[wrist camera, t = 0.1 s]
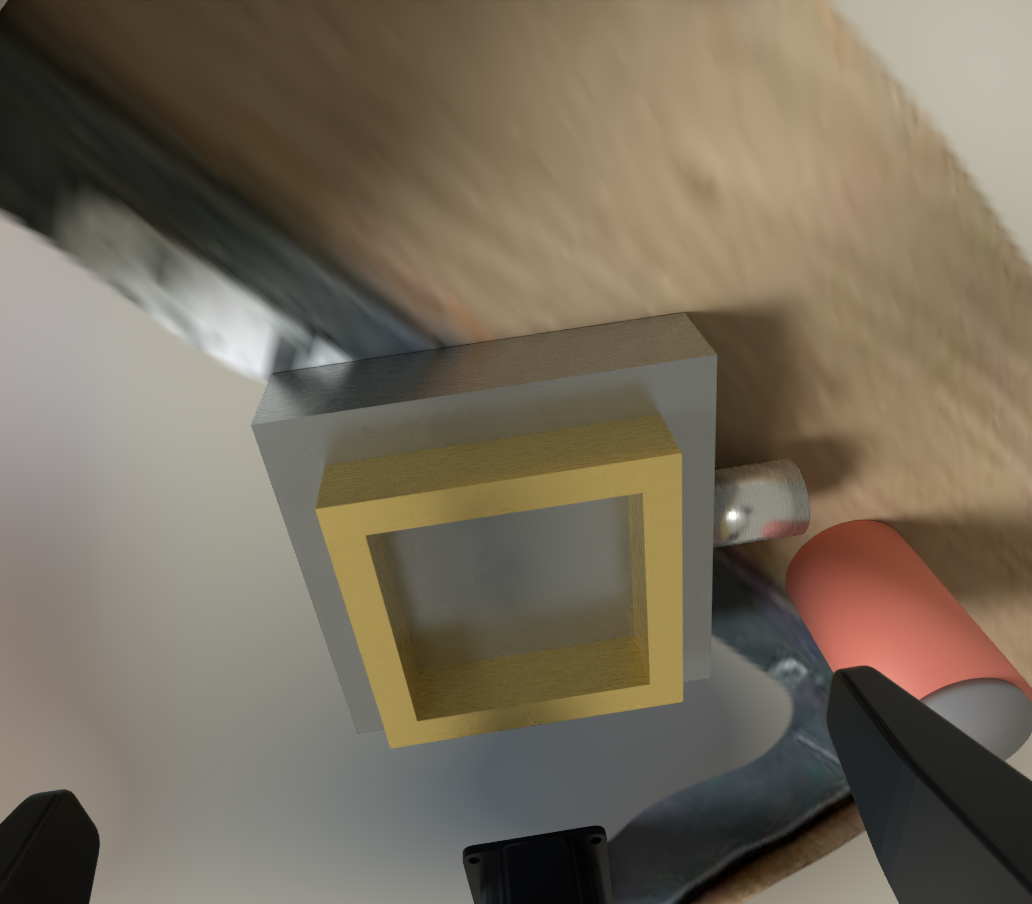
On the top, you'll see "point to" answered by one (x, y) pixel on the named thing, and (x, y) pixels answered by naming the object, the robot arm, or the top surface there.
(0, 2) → the supplement box
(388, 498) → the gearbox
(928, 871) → the robot arm
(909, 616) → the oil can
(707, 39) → the top surface
